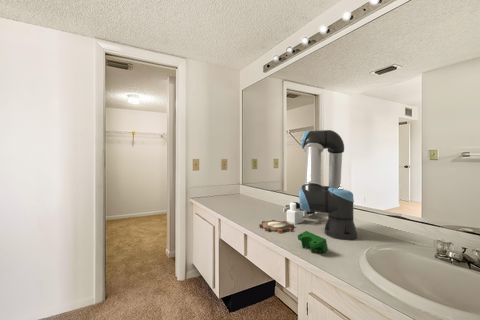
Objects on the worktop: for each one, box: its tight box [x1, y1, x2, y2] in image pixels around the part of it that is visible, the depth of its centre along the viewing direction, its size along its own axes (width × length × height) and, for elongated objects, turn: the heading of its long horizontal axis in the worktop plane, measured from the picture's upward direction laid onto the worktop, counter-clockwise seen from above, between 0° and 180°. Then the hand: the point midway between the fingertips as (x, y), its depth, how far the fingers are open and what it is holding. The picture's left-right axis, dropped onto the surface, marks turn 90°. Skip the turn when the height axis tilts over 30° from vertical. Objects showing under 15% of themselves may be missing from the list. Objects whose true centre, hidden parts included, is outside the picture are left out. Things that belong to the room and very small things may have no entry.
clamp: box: [297, 230, 329, 254], centre depth 88 cm, size 12×6×9 cm, turn 20°
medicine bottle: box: [286, 201, 304, 225], centre depth 129 cm, size 7×7×12 cm
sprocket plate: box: [258, 219, 295, 234], centre depth 118 cm, size 19×19×2 cm
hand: (293, 211), depth 128 cm, fingers open, 13 cm apart
